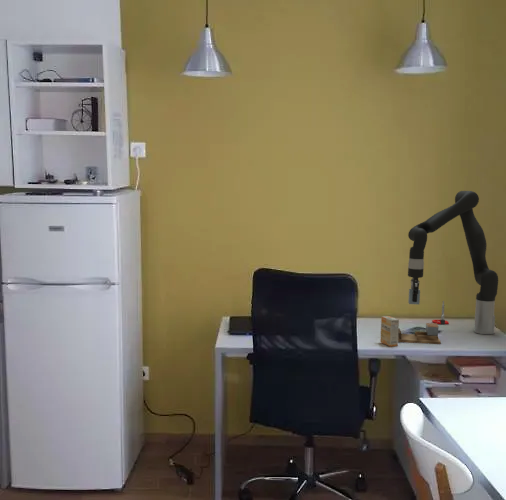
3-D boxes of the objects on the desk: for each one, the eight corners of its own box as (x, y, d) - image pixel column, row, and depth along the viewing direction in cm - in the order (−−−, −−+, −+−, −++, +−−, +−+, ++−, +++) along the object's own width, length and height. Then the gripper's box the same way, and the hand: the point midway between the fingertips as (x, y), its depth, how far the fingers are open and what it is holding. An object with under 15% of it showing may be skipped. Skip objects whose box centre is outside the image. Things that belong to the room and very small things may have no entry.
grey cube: (435, 336, 325) (436, 323, 324) (437, 339, 319) (438, 326, 318) (425, 335, 326) (426, 323, 325) (427, 338, 320) (427, 325, 319)
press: (436, 337, 328) (437, 329, 328) (440, 344, 316) (441, 335, 316) (396, 336, 331) (396, 327, 330) (398, 342, 319) (398, 333, 318)
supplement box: (379, 342, 317) (380, 316, 316) (388, 341, 319) (389, 315, 318) (389, 347, 310) (390, 319, 308) (398, 346, 312) (399, 319, 310)
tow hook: (430, 321, 366) (435, 324, 357) (431, 298, 365) (436, 301, 356) (444, 321, 367) (450, 324, 357) (445, 298, 366) (451, 301, 356)
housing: (418, 302, 333) (419, 287, 332) (419, 304, 329) (420, 289, 328) (408, 302, 334) (409, 287, 333) (409, 304, 330) (410, 288, 329)
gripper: (425, 269, 322) (423, 304, 324) (421, 265, 336) (420, 298, 338) (409, 269, 323) (407, 303, 325) (407, 265, 337) (405, 297, 339)
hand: (414, 300), depth 331 cm, fingers closed on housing, 4 cm apart
